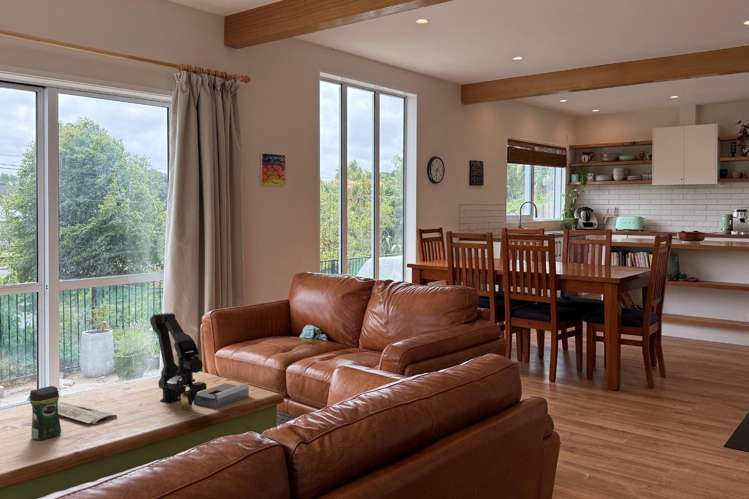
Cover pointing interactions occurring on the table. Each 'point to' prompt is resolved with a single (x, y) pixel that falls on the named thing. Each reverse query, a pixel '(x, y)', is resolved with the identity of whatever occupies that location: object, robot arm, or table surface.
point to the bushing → (185, 402)
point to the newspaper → (82, 413)
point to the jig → (222, 395)
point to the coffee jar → (45, 413)
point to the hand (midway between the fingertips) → (186, 404)
